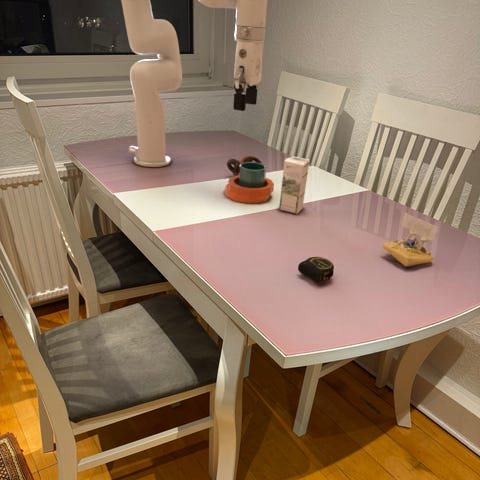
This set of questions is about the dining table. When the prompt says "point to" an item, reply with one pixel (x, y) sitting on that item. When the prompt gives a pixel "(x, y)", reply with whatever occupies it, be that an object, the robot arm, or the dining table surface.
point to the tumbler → (252, 175)
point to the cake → (412, 242)
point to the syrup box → (293, 184)
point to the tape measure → (317, 269)
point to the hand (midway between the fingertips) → (245, 106)
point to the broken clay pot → (237, 163)
